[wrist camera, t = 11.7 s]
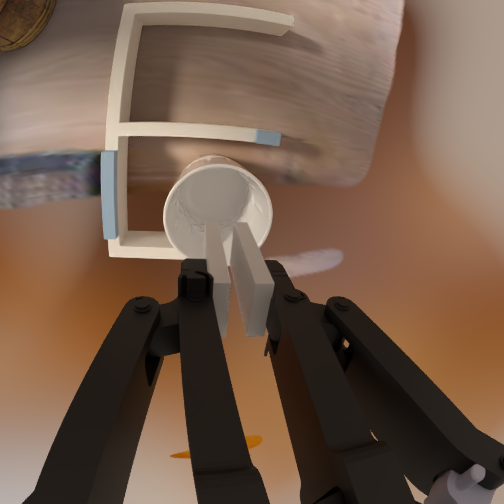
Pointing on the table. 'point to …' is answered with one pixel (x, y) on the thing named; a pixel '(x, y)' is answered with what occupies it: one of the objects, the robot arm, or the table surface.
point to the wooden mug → (22, 21)
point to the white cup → (215, 205)
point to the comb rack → (121, 127)
